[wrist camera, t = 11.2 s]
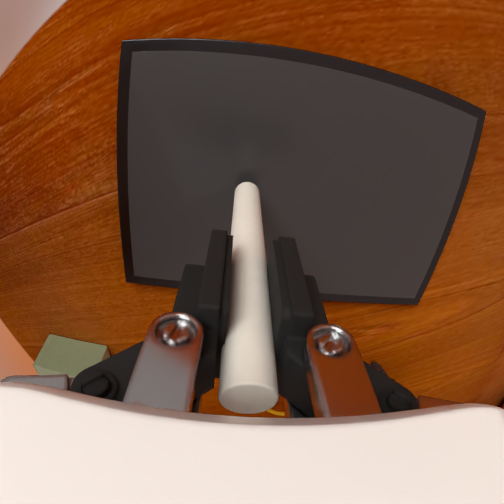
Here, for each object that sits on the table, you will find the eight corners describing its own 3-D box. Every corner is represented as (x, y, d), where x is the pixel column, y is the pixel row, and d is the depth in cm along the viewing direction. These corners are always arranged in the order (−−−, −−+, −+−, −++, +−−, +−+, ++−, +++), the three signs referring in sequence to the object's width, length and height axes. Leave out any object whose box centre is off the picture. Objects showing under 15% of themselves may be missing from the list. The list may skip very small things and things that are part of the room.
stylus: (236, 176, 18) (219, 381, 6) (260, 178, 19) (284, 385, 6) (234, 198, 19) (216, 412, 7) (257, 200, 19) (273, 415, 7)
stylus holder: (49, 333, 27) (32, 365, 24) (107, 345, 28) (94, 381, 24) (67, 373, 31) (55, 403, 27) (119, 385, 32) (110, 417, 28)
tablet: (126, 41, 15) (120, 40, 14) (479, 108, 17) (487, 111, 16) (129, 275, 24) (125, 283, 23) (413, 298, 25) (418, 305, 25)
